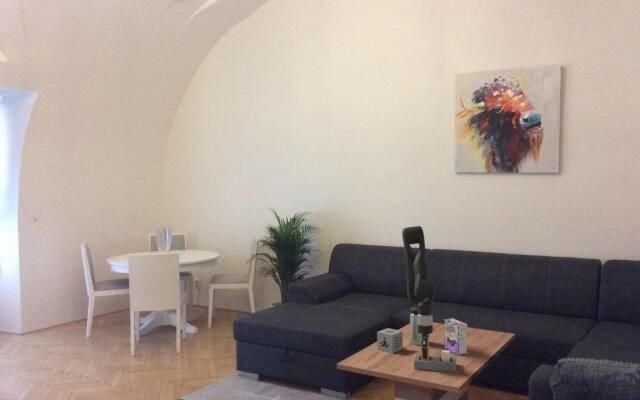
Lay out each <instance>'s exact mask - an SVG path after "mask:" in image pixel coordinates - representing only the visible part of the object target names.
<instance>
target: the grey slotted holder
mask: <svg viewBox="0 0 640 400" xmlns="http://www.w3.org/2000/svg"><path fill="white" fill-rule="evenodd" d="M413 368H414V369H413V370H417V371H418V370H419V371H421V370H422V371H433V372H447V373H449V372H450V373H456V371H457V356H455V355H451V351H449V350H447V349H442V350H441V352H440V355H439V354H436V355H435V354H430V360H421V353H416V355H415V358H414V361H413Z"/></svg>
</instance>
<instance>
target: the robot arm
mask: <svg viewBox="0 0 640 400" xmlns="http://www.w3.org/2000/svg"><path fill="white" fill-rule="evenodd" d="M401 233H402V242H403V249H404V260H405V263H404V264H405V272H406V273H405V274H406V287H407V288H406V291H407V293H406V294H407V299H408V301H410V302H419V303H418V304H417V305H414V306H412V307H410V309H409V324H410V325H409V326H410V327H409V329H410V330H409V333H410V334H409V335H410V336H409V337H410V340H409V341H410V344H411V345H415V346H420V347H421V346H422V351H423V358H424V359H427V351H428V350H427V347H428V346H430V345H429V344H430V335H431V334H433V332H434V328H433V327H434V322H433V321H434V320H433V303H434V299H435V296H436V286H435V285H434V284H433V283H430V282H429V283H422V282H425V281H427V280H428V279H429V278H430V274H429V269H428V265H427V263H428V262H427V253H426V251H427V250H426V242H425V234H424V230H423V227H422V226H420V225H414V226H408V227H404V228H402V232H401ZM417 244H418V250H417V252H416V251H415V250H414V249H413V248H412V246H411V245H417ZM423 347H426V349H425V348H423Z"/></svg>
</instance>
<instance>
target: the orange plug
mask: <svg viewBox="0 0 640 400" xmlns="http://www.w3.org/2000/svg"><path fill="white" fill-rule="evenodd" d="M423 348H425V349H426V347H423ZM427 350H428V351H427V359H424V358H423V351H422V346H421V345H420V354H421V360H430V355H431V352H430V345H428V347H427Z"/></svg>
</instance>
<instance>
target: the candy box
mask: <svg viewBox="0 0 640 400" xmlns="http://www.w3.org/2000/svg"><path fill="white" fill-rule="evenodd" d="M443 320H444V323H443V324H444V329H443V330H444V350H447V351H450V353H453V354H455V355H457V356H463V355H464V356H465V355H467V354H468V324H467V323H465V322H462V321H459V320H458V319H455V318H453V317H451V318H445V319H443Z"/></svg>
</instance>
